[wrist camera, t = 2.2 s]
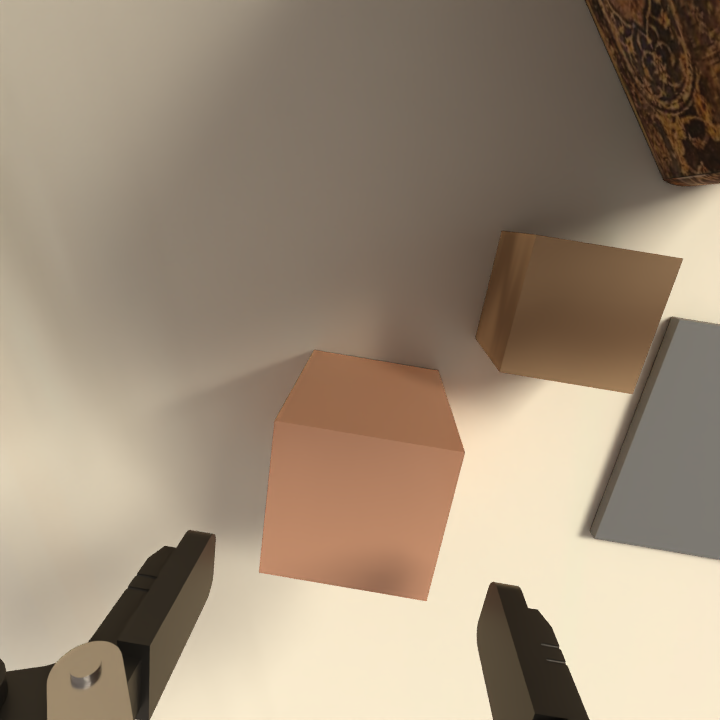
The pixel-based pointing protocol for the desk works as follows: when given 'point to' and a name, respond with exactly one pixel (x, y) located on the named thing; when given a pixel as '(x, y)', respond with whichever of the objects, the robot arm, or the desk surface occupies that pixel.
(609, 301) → the walnut block
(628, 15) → the antique leather tome
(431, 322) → the desk surface
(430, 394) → the peach cube
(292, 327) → the desk surface
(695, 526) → the rubber mat
